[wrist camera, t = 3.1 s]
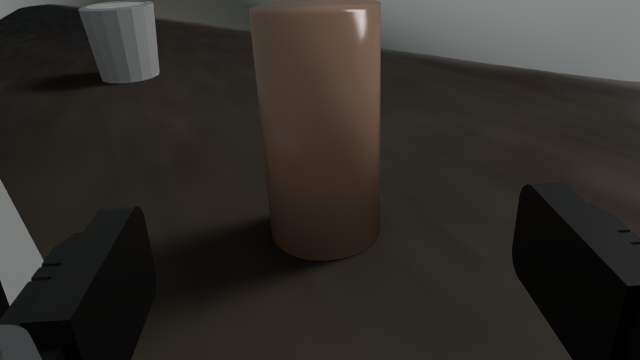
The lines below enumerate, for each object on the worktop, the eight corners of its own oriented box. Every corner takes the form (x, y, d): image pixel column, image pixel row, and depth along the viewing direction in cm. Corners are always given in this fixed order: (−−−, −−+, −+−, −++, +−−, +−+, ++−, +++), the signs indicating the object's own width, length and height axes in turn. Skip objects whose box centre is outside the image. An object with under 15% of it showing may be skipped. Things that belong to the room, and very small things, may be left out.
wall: (95, 398, 16) (61, 293, 14) (54, 420, 15) (12, 313, 13) (19, 240, 24) (-9, 163, 23) (-10, 250, 24) (-40, 171, 22)
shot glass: (80, 82, 52) (61, 9, 49) (130, 66, 57) (116, -1, 54) (132, 87, 49) (115, 10, 46) (179, 70, 54) (167, -1, 51)
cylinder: (402, 231, 24) (408, 2, 19) (316, 275, 21) (300, 20, 17) (333, 194, 27) (325, -6, 23) (251, 227, 25) (225, 8, 20)
